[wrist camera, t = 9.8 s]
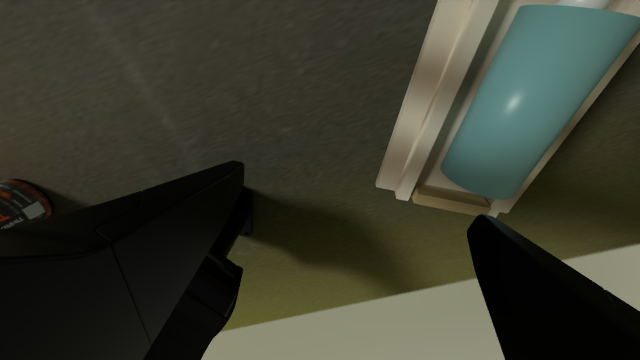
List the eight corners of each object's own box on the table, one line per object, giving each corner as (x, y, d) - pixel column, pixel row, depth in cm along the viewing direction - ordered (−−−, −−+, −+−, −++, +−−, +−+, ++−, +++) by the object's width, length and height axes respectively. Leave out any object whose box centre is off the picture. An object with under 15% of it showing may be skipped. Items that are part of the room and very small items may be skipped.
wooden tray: (503, 207, 23) (518, 227, 21) (375, 182, 23) (377, 198, 21) (697, -54, 13) (767, -69, 11) (470, -94, 13) (493, -117, 11)
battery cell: (491, 166, 20) (530, 205, 16) (431, 155, 20) (454, 191, 16) (593, 6, 14) (699, 0, 10) (509, -10, 14) (578, -23, 10)
